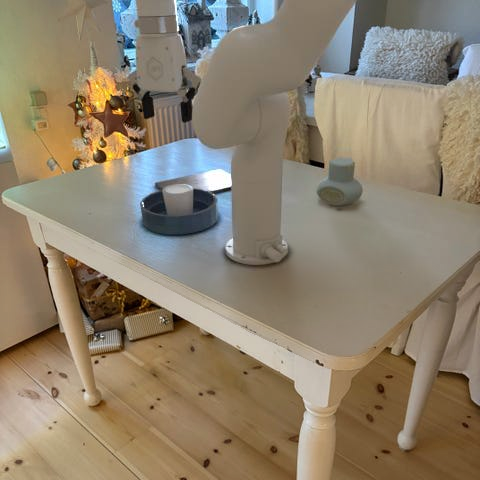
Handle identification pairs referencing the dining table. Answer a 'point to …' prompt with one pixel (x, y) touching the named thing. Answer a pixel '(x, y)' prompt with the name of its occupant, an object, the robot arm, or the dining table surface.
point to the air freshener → (340, 184)
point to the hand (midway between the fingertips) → (168, 119)
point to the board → (202, 181)
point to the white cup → (178, 199)
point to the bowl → (179, 224)
